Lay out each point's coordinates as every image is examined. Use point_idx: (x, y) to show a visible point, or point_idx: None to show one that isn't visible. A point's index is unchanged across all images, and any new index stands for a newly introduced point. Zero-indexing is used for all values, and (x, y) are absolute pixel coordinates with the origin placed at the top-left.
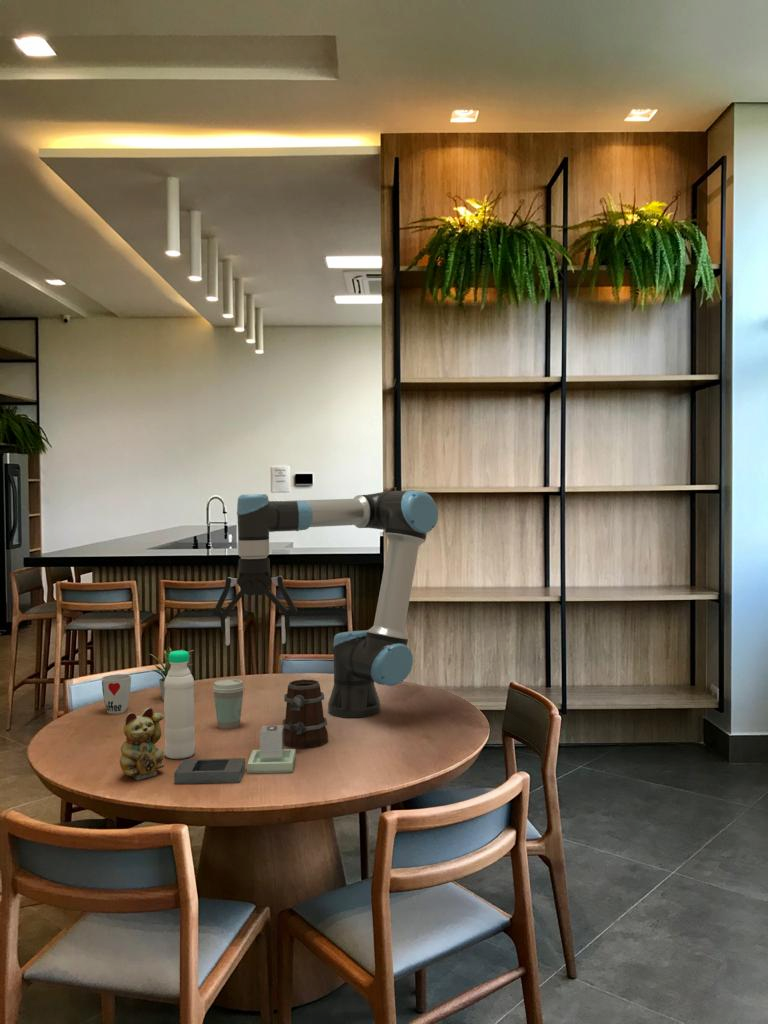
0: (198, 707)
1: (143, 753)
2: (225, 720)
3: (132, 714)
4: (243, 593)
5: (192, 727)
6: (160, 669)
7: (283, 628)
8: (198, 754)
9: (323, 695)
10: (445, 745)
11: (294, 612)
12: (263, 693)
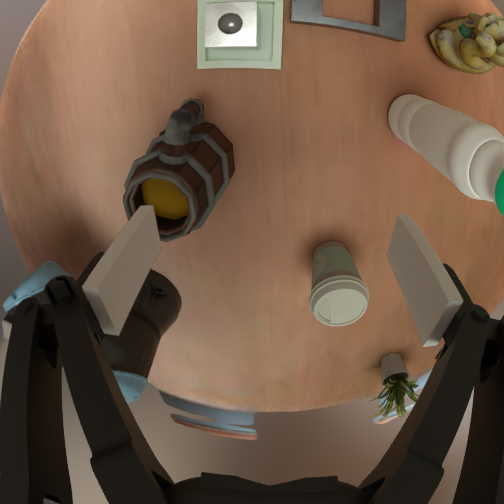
0: (365, 333)
1: (467, 18)
2: (338, 248)
3: None
4: (392, 488)
5: (409, 116)
6: (410, 387)
7: (116, 245)
8: (380, 114)
9: (125, 188)
10: (17, 144)
11: (28, 300)
12: (279, 369)
